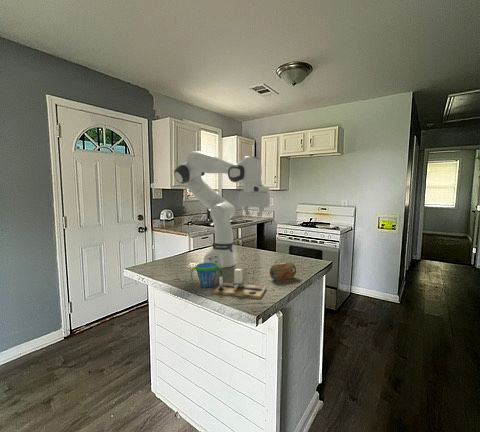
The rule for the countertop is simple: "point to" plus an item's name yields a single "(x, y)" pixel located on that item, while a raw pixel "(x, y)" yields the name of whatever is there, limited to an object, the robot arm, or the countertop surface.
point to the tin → (282, 271)
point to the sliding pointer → (238, 278)
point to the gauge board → (241, 290)
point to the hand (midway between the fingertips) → (253, 215)
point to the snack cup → (207, 274)
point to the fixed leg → (220, 283)
